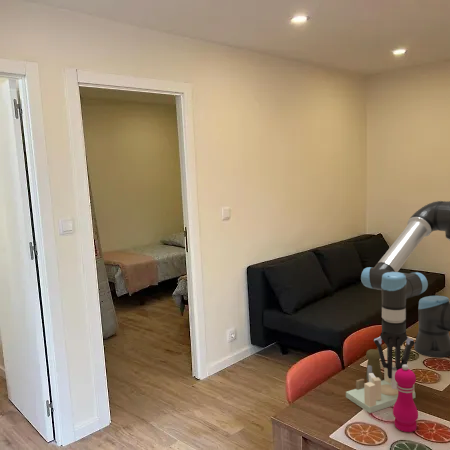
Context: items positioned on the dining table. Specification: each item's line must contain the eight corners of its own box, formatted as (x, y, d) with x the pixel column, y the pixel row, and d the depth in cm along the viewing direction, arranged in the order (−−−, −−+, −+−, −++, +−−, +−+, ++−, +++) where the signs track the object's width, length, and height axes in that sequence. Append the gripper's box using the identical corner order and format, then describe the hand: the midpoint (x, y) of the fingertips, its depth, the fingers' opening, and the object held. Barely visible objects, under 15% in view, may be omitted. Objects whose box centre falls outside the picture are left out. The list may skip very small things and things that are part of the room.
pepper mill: (388, 421, 141) (388, 360, 139) (411, 418, 142) (410, 358, 140) (399, 434, 134) (399, 370, 132) (422, 432, 135) (422, 368, 132)
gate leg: (367, 389, 158) (367, 370, 157) (374, 389, 158) (373, 370, 157) (374, 400, 150) (374, 380, 149) (381, 400, 150) (381, 380, 149)
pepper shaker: (383, 382, 166) (383, 354, 165) (366, 381, 168) (365, 353, 166) (381, 374, 172) (380, 347, 171) (364, 374, 173) (364, 347, 172)
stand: (389, 383, 165) (389, 357, 164) (415, 397, 154) (415, 370, 153) (345, 397, 157) (345, 370, 156) (369, 413, 146) (369, 384, 145)
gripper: (411, 316, 151) (411, 382, 154) (371, 315, 154) (372, 381, 156) (417, 323, 144) (417, 393, 147) (374, 322, 146) (375, 391, 149)
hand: (393, 387), depth 151 cm, fingers closed
